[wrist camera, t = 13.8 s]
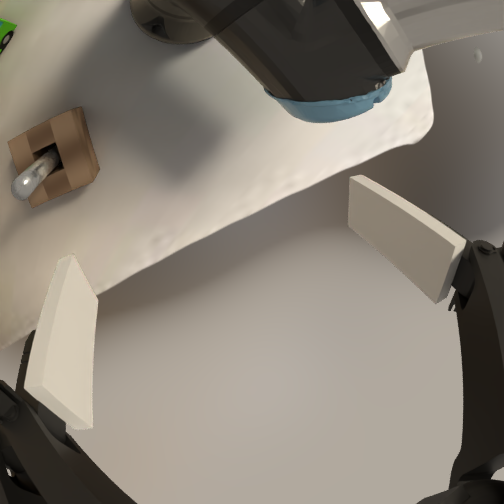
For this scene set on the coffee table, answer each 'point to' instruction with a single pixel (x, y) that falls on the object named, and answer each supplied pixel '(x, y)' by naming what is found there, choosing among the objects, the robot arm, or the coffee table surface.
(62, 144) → the hole block
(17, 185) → the long pin
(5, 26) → the toy car
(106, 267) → the coffee table surface
